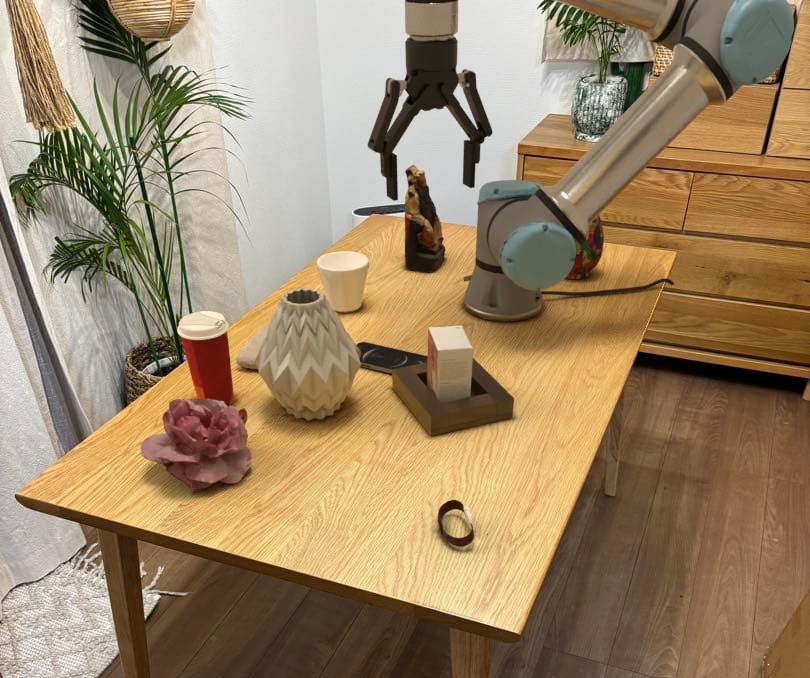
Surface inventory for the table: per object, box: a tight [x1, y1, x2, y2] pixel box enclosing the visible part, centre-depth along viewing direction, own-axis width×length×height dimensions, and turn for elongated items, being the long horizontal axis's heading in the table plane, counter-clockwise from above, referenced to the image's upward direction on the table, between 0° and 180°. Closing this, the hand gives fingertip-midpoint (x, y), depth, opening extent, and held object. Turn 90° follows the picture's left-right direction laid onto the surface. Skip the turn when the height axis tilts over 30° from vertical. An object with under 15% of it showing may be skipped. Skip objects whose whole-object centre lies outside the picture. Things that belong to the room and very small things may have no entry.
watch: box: [437, 499, 477, 548], centre depth 101 cm, size 8×5×4 cm, turn 12°
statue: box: [404, 164, 446, 273], centre depth 167 cm, size 12×8×20 cm, turn 154°
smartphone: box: [355, 341, 428, 374], centre depth 138 cm, size 8×1×15 cm
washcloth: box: [236, 322, 270, 370], centre depth 140 cm, size 12×18×3 cm, turn 164°
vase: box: [255, 287, 362, 422], centre depth 121 cm, size 16×16×18 cm
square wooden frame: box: [391, 357, 515, 437], centre depth 126 cm, size 14×16×4 cm
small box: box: [426, 325, 474, 404], centre depth 123 cm, size 8×6×10 cm
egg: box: [565, 214, 605, 280], centre depth 163 cm, size 11×11×15 cm
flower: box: [140, 397, 252, 490], centre depth 111 cm, size 15×15×10 cm
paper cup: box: [176, 310, 235, 407], centre depth 124 cm, size 8×8×14 cm
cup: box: [316, 250, 370, 314], centre depth 153 cm, size 10×10×9 cm
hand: (431, 192), depth 127 cm, fingers open, 13 cm apart
